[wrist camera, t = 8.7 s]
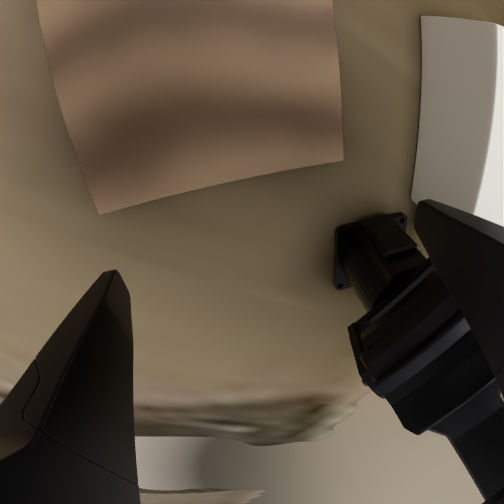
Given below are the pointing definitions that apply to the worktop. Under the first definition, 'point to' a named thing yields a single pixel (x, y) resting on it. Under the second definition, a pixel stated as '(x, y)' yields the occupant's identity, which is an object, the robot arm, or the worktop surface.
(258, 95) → the copper plate
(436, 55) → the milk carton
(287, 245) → the worktop surface
